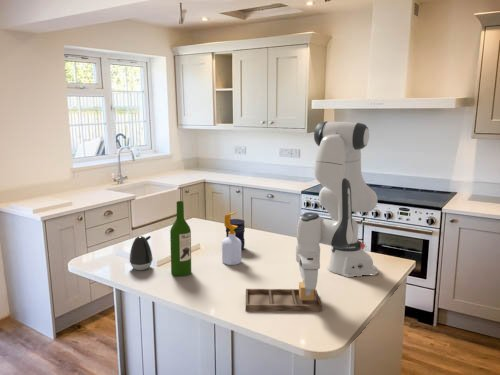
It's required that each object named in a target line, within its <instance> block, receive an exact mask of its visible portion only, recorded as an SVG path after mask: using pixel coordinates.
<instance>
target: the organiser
mask: <svg viewBox="0 0 500 375" xmlns="http://www.w3.org/2000/svg"><path fill="white" fill-rule="evenodd" d="M320 298H321V297H320V296H319V294H318V291H317V288H316V289H315V290H314V300H300V297H299V288H297V289H296V288H245V311H247V312H248V311H249V312H250V311H251V312H252V311H254V312H255V311H257V312H259V311H260V312H322V311H323V304H322V301H321V299H320Z"/></svg>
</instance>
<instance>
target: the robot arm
mask: <svg viewBox="0 0 500 375" xmlns="http://www.w3.org/2000/svg"><path fill="white" fill-rule="evenodd" d="M313 140H314V142H315V144H316V145H317V146H318V149H317V153H316V159H315V164H314V177H315V179H316V180H317V182H318V183H319V184H320V185H321V186H322V188H321V189H320V191H319V194H318V200H319V203H320V205H321V207H323V208H324V209H325V210H326V211H327V212H328V214H329V216H330V218H331V219H328V218H323V217H321V216H320V215H319V214H318V213H316V212H312V211H311V212H304V213H301V215H299V216H298V222H297V227H296V240H297V245H296V248H295V249H296V250H295V261H296V262H297V263H298V268H299V272H300V276H301V278H302V282H304V285H305V294H306V296H309V295H310V292H311V290H315V289H316V290H317V284H318V276H319V270H320V268H321V262H320V259H321V246H320V244H322V245H326V246H330V251H331V252H330V253H331V255H330V259H329V263H328V266H327V269H328V270H329V271H330V272H331V273H334V274H338V275H341V276H343V277H346V278H355V277H354V276H357V277H363V276H362V275H370V274H377V273H378V274H379V268H378V267H377V266H376V265H375V264H374V260H373V257H372V256H371V255H370V254H369V253H367V252H366V251H365V250H364V249H365V247H366V245H365V244H364V243H363V242H362V241H361V240H359V225H358V222H357V221H356V220H355V219H354V218H352V217H353V216H352V214H353V213H352V212H355V213H369V212H373V211H374V210H375V209H376V207H377V205H378V196H377V193H376V192H375V190H374V189H372V188H370V187H369V185H368V184H367V183H366V181H365V179H364V178H363V174H362V152H361V150H363V149H364V148H365V147H367V145H368V143H369V140H370V130H369V126H367V124H365V123H362V122H351V121H343V120H342V121H322V122H319V123H318V124H316V126H315V128H314V132H313Z"/></svg>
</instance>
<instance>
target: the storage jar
mask: <svg viewBox="0 0 500 375" xmlns="http://www.w3.org/2000/svg"><path fill="white" fill-rule="evenodd" d="M230 224H231V225H235V226H238V227H237V228H235V229H234V232H235V236H236V237H237V238H238V239H240V240H241V252H243V251H245V228H246V226H245V220H243V219H239V218H230ZM225 232H226V235H225V236H226V237H225V238H227V237H228V232H230V229H229V228H226V227H225Z"/></svg>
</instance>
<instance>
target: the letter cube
mask: <svg viewBox="0 0 500 375" xmlns="http://www.w3.org/2000/svg"><path fill="white" fill-rule="evenodd" d="M298 284H299V285H298V289H299V297H300V300H314V290H311V292H310V295H309V296H306V294H305V285H304V282H303V281H301V282H300V281H299V282H298Z"/></svg>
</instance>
